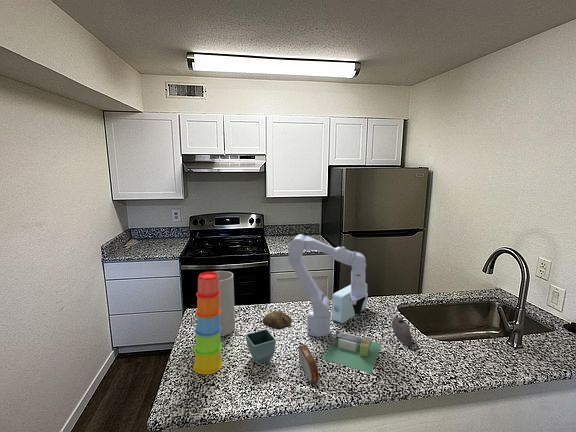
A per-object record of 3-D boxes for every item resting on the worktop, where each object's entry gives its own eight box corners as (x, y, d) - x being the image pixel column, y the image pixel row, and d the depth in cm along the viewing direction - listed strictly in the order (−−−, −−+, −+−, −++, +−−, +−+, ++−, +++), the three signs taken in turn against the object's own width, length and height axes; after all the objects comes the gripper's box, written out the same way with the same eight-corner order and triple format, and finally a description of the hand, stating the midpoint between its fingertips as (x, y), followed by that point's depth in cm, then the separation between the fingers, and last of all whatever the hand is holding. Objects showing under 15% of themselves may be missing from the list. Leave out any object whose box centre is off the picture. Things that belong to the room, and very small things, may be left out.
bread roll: (259, 321, 144) (259, 311, 143) (279, 313, 152) (279, 303, 151) (277, 332, 135) (276, 321, 134) (297, 322, 143) (297, 312, 142)
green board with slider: (322, 360, 114) (322, 349, 113) (338, 334, 132) (338, 325, 131) (371, 375, 106) (371, 363, 105) (381, 345, 124) (382, 335, 123)
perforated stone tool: (416, 350, 120) (417, 334, 119) (402, 350, 120) (403, 334, 119) (402, 330, 135) (403, 315, 134) (390, 330, 135) (391, 315, 134)
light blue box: (342, 325, 140) (343, 297, 138) (332, 320, 144) (332, 293, 142) (368, 308, 157) (369, 283, 154) (357, 304, 160) (358, 280, 158)
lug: (359, 355, 115) (360, 344, 115) (363, 348, 120) (363, 337, 120) (367, 358, 114) (368, 346, 113) (370, 350, 119) (371, 339, 118)
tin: (319, 388, 100) (320, 364, 99) (310, 389, 99) (310, 366, 98) (305, 360, 115) (305, 339, 113) (296, 361, 114) (296, 340, 112)
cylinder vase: (240, 326, 139) (239, 273, 135) (222, 340, 128) (220, 283, 124) (219, 320, 145) (216, 269, 141) (200, 333, 134) (197, 278, 130)
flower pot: (254, 369, 110) (253, 346, 108) (245, 356, 117) (245, 334, 116) (276, 362, 114) (276, 339, 112) (267, 349, 121) (266, 328, 120)
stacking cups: (206, 354, 118) (202, 268, 113) (228, 361, 114) (224, 272, 108) (187, 370, 109) (181, 277, 104) (210, 378, 105) (205, 282, 99)
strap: (332, 339, 123) (332, 335, 123) (335, 334, 127) (335, 331, 126) (369, 347, 116) (369, 344, 116) (371, 342, 120) (372, 338, 120)
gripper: (363, 290, 118) (363, 323, 120) (371, 278, 131) (371, 308, 133) (345, 287, 121) (345, 320, 123) (355, 276, 134) (355, 305, 136)
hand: (357, 314), depth 128 cm, fingers closed
